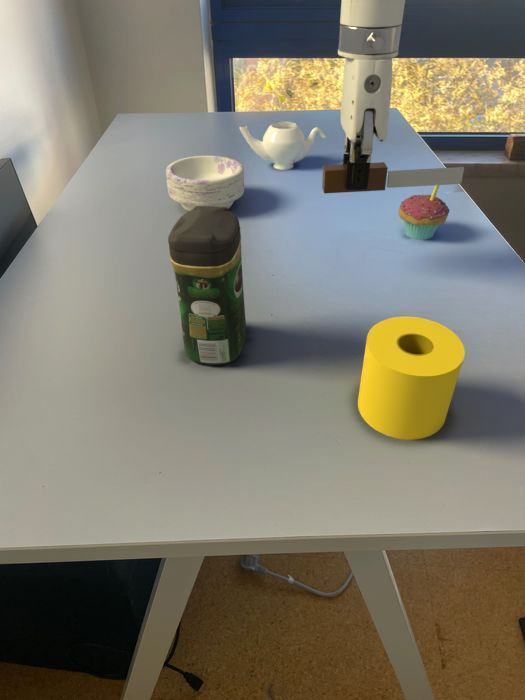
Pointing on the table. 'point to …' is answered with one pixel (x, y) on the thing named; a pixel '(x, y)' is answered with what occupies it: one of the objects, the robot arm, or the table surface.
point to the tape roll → (409, 376)
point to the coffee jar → (209, 283)
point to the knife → (390, 177)
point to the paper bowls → (205, 181)
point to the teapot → (282, 143)
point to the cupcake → (423, 215)
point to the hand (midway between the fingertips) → (354, 183)
